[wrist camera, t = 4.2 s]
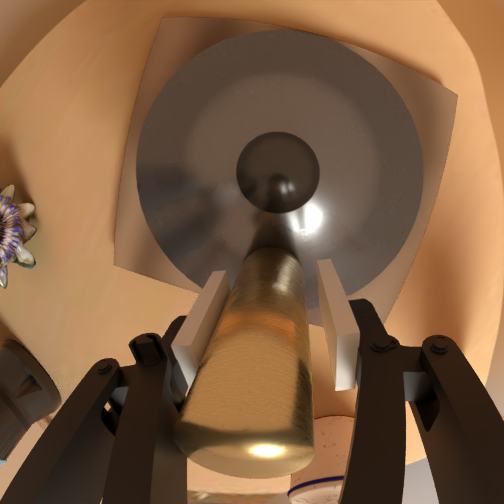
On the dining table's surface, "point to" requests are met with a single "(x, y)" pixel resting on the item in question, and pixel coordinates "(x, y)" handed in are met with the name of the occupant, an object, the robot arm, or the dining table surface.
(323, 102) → the handwheel
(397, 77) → the base plate
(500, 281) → the dining table surface
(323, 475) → the teacup with lid
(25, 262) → the passion flower
